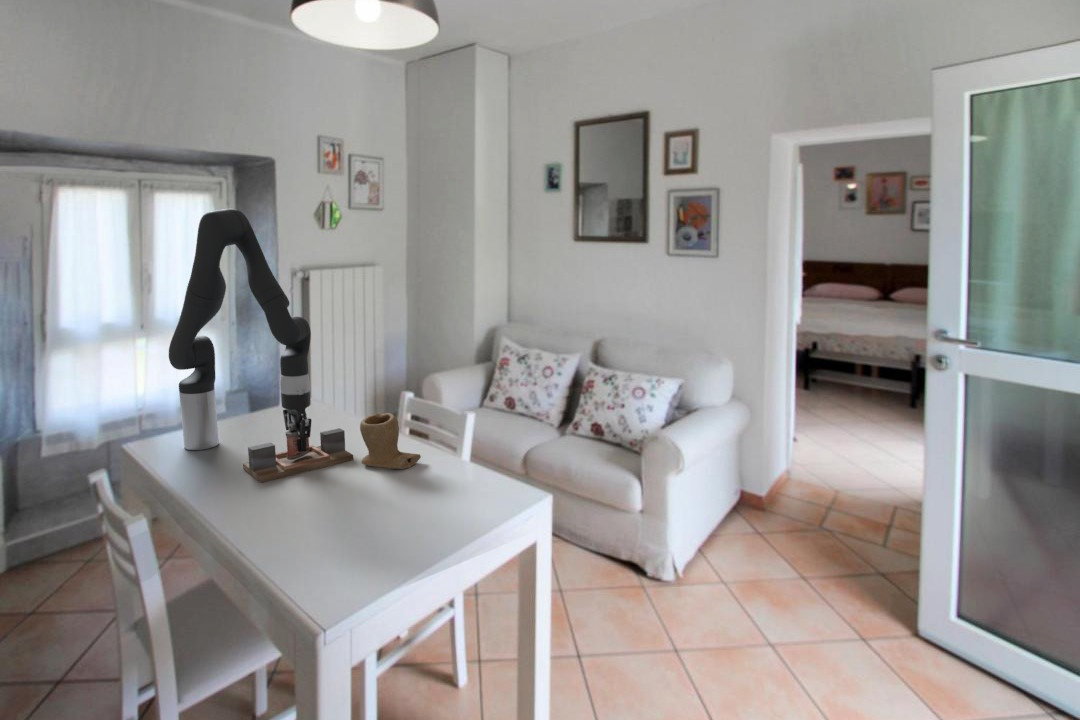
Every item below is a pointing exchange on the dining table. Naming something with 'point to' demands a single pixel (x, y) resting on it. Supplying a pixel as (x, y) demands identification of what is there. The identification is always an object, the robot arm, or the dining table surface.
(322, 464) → the rail
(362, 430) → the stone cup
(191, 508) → the dining table surface
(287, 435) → the lighter
